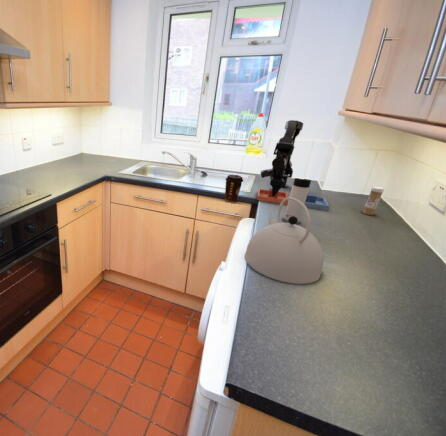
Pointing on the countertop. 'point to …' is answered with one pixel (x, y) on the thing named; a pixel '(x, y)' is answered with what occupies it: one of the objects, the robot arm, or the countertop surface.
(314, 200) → the slate-blue block
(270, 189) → the terracotta block
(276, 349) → the countertop surface
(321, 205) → the blue tray
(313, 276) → the kettle
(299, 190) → the travel mug
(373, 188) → the sprinkles bottle
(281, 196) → the terracotta tray
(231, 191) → the coffee cup
